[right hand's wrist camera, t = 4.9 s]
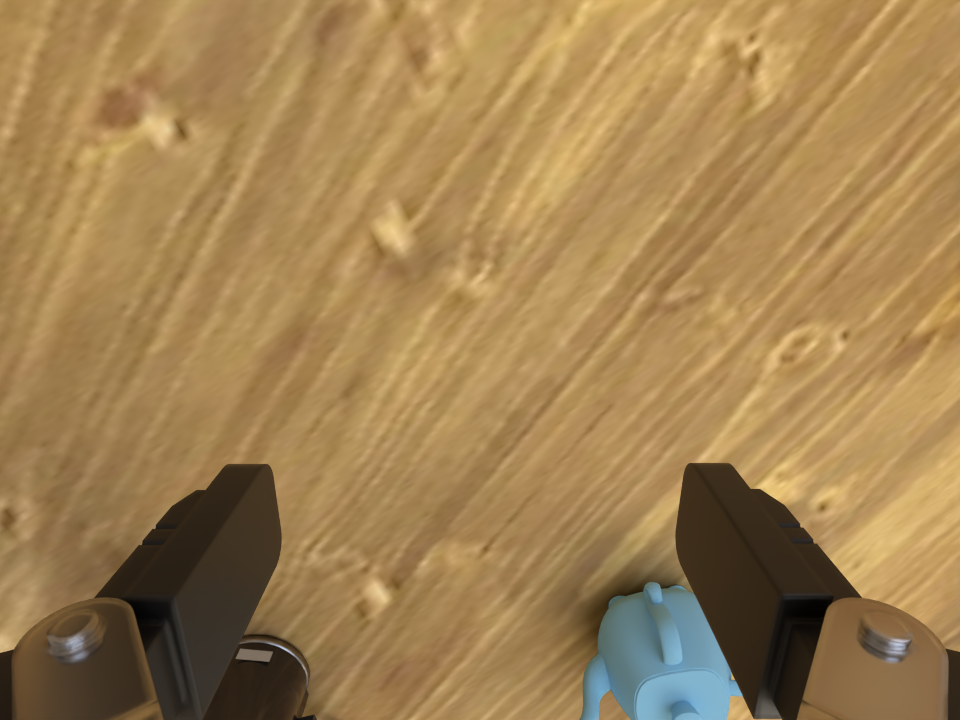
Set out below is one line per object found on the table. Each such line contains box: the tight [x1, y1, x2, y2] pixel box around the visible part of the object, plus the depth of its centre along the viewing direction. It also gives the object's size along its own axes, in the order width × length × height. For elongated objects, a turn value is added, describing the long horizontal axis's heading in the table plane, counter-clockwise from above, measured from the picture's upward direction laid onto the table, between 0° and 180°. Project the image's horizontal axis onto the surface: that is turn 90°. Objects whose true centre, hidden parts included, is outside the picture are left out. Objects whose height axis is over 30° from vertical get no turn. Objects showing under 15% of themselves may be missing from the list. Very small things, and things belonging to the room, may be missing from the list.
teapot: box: [580, 582, 743, 720], centre depth 52 cm, size 13×14×11 cm
